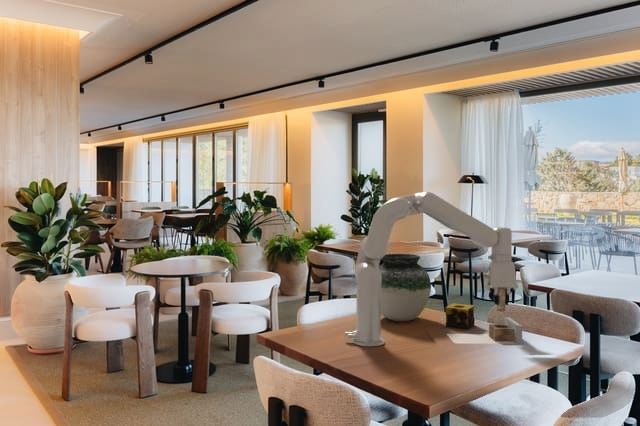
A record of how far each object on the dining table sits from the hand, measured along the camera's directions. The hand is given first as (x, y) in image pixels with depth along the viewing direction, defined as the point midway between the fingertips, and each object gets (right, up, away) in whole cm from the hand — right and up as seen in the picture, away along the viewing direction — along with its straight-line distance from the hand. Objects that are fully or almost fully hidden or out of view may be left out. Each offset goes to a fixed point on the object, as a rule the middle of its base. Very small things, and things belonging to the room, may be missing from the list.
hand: (501, 303), depth 206 cm
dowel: (0, -3, 0) cm, 3 cm away
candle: (-11, -15, +21) cm, 28 cm away
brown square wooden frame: (0, -14, 0) cm, 14 cm away
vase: (-35, -14, +38) cm, 53 cm away
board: (-7, -15, +1) cm, 17 cm away
